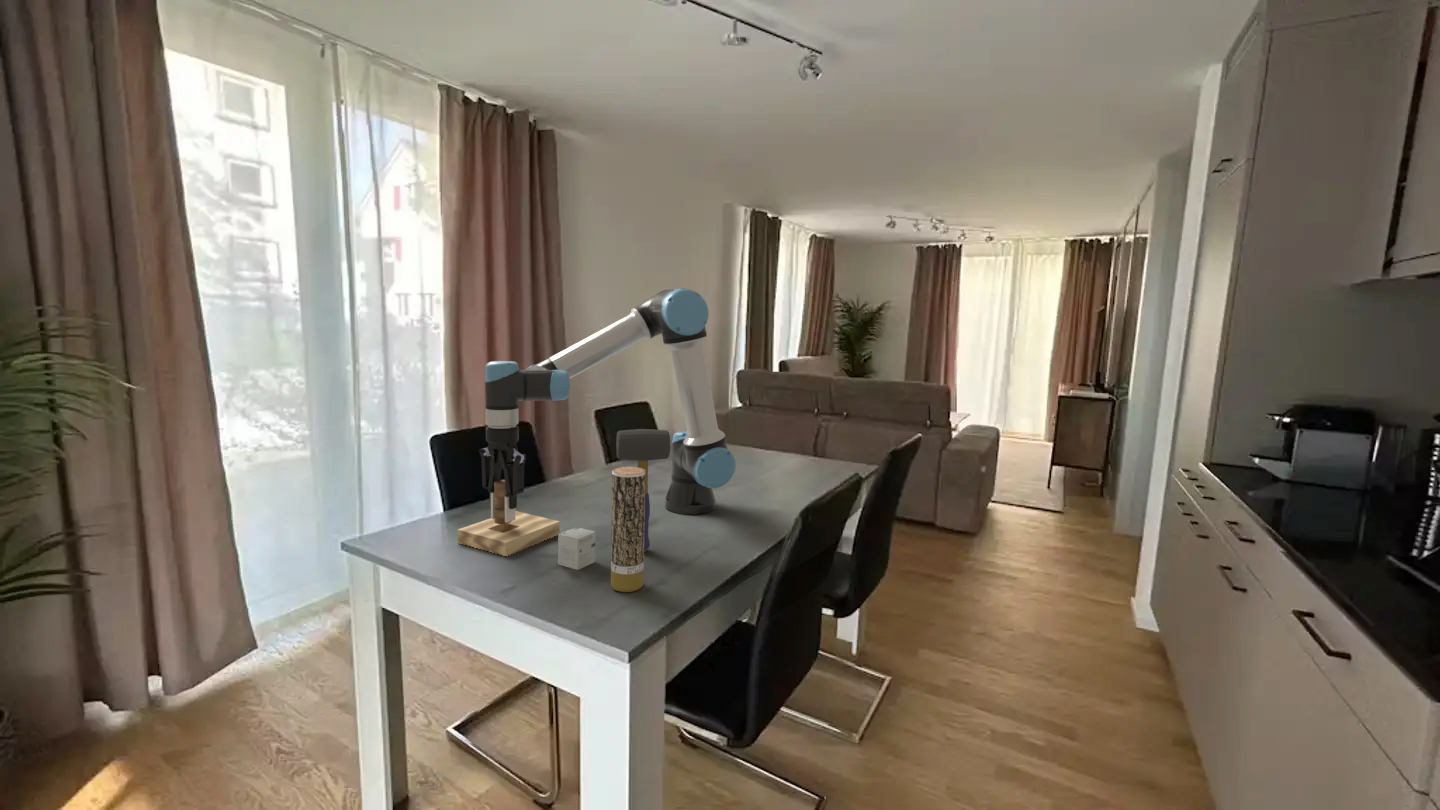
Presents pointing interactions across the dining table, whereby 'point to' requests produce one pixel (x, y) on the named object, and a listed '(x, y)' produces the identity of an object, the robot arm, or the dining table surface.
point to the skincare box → (576, 548)
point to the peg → (499, 501)
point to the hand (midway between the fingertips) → (503, 519)
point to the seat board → (509, 533)
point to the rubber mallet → (643, 456)
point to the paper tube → (627, 528)
